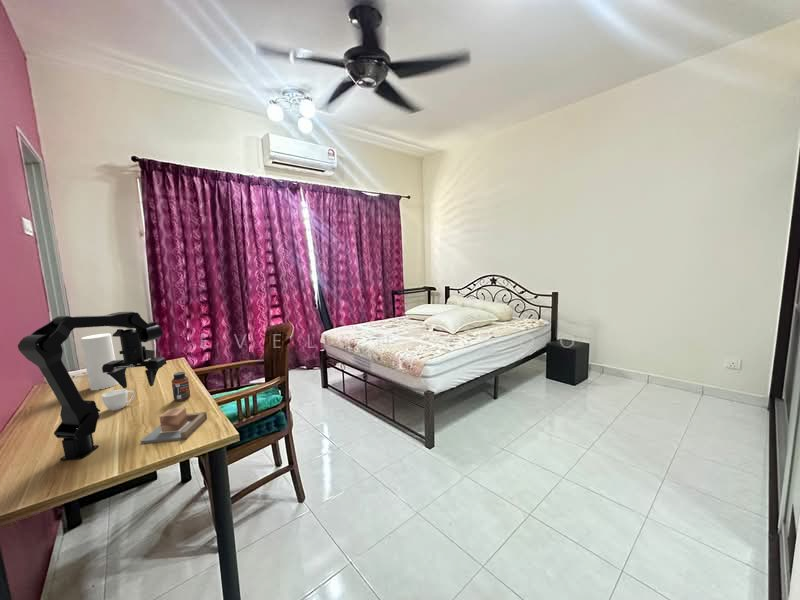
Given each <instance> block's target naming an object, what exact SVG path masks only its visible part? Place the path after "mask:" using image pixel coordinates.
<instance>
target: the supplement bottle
mask: <svg viewBox="0 0 800 600" xmlns="http://www.w3.org/2000/svg"><path fill="white" fill-rule="evenodd" d="M171 386H172V387H171V389H172V395H173V400H174V401H176V402H182V401H185V400H186V401H187V400H188V399H189V398H190V397H191V389H190V383H189V378H188V376H186V374H185V372H184V371H179V372H175V373H173V378H172V380H171Z"/></svg>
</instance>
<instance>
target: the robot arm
mask: <svg viewBox="0 0 800 600" xmlns="http://www.w3.org/2000/svg"><path fill="white" fill-rule="evenodd" d="M97 327H99V328H100V327H111V328H119V329H117V330H116V331H115V332H114V333H113V334H111V337H114V338H116V337H117V338H119V341H120V345H121V350H119V353H118V354H119V355H122V358H123V359H119V360H118V359H117V360H116V359H115V361H111V362H109V363H106V364H104V365H103V367H102V372H103V373H106V372H108V373H107V375H110V376H111V377H113V378H114V379H115V380H116V381H117V382H118V383H119V384H118V385H120V386H121V388H122V389H127V387H128V384H127V383H128V382H127V377H126V371H127V369H128V368H139V367H140V368H141V367H143V368H145V369H146V370H145V371H144V372H145V374H146V378H147V381H148V384H149V386H150V387H153V386H154V384H155V381H156V377H157V374H158V372H159V370H160V368H162V367H164V366H165V365H167V363H168V362H167V359H166V358H165V357H164V356H162V357H161V356H160V357H155V349H153V350H152V349H146V347H145V345H143V343H147V342H151V341H154V340H157V339H161V337H162V336H163V329H162V327H161V326H160V325H159V324H157V321H150V322H148V323H147V322H146V320H144V319H143V318H142V317H141V314H140V313H139V312H137V311H118V312H112V313H109V314H105V315H80V316H79V315H78V316H73V315H58V316H56V317H54V318H53V319H52V320H51V321H50V322H48V323H46V324H45V325H42V326H41V327H39V328H38V329H36V330H35V331H33V332H32V333H31V334H30V335H26V336H24V337H23V338H22V339H21V340H20V341H19V343H18V344H17V349H18V351H19V352H20V353H21V354H22V355H23V356H24V357H25V359H27V360H28V361H29V362H31V363H32V364H34V365H35V366H37V367H38V368H39V370H40V371H41V373H42V375H43V377H44V379H45V381H46V382H47V384H48V385H49V388H50V389H51V390H52V392H53V394H54V396H55V398H56V399H57V401H58V402H59V404H60V406H61V409H60V415H59V416H60V419H61V422H60V424H59V425H58V426H57V428H56V429H55V431H54V432H53V435H54V436H55V438H57V439H63V440H61V444H62V449H63V453H64V455H63V456H62V457H60V458H59V461H68V460H79V459H83V458H85V457H86V456H88V455H89V454H91V453H92V452H94V451H95V450H96V449H98V448H99V447H100V446H99V444H95V443H94V437H93V433H95V432H96V429H97V424H98V420H99V419H100V413H99V412H101V410H100V409H99V408H98V406H97V404H96V402H95V400H85V399H84V398H83V397H82V395H81V393H80V391H79V390H78V388H77V386H76V384H75V382H74V381H73V378H72V377H71V374H70V373H69V372H68V370H67V367H66V366H65V364H64V363H63V360H62V357H63V352H64V350H63V346H62V344H63V343H64V342H65V341H67V340H68V338H69V336H70V334H71V333H72V331H74V329H81V328H82V329H83V328H97ZM124 328H125V329H124Z"/></svg>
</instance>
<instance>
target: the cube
mask: <svg viewBox="0 0 800 600" xmlns="http://www.w3.org/2000/svg"><path fill="white" fill-rule="evenodd" d="M187 414H188V413H187V408H186V407H182V408H180V407H179V408H169V409H167V410H166V411H165V412H163V413H162V414H161V415H160V416H159V422H160V425H161V429H162V432H166V431H178V430H180V429H181V428H182V427H183V426H184V425H185V424H186V423H188V421H187Z"/></svg>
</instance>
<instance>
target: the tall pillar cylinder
mask: <svg viewBox="0 0 800 600" xmlns="http://www.w3.org/2000/svg"><path fill="white" fill-rule="evenodd" d="M112 337H113V336H112V334H111V333H107V332H106V333H97V334H91V335H87V336H82V337H80V340H81V341H80V343H81V348H82V352H83V357H84V364H85V369H86V373H87V374H86V375H87V379H88V385H89V389H90V390H91V391H100V390H99V389H102V390H105V388H106V389H110V388H113V387H115V385H116V386H118V385H120V384H119V383H118V382H117V381H116V380H115V379H114V378H113V377H111V376H110V375H107V373H108V372H106V373H103V372H102V367H103V365H104V364H106V363H109V362H111V361H115V360H116V355H115V349H114V345H113V344H114V343H113V338H112ZM117 384H118V385H117ZM112 386H113V387H112ZM109 387H110V388H109Z"/></svg>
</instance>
